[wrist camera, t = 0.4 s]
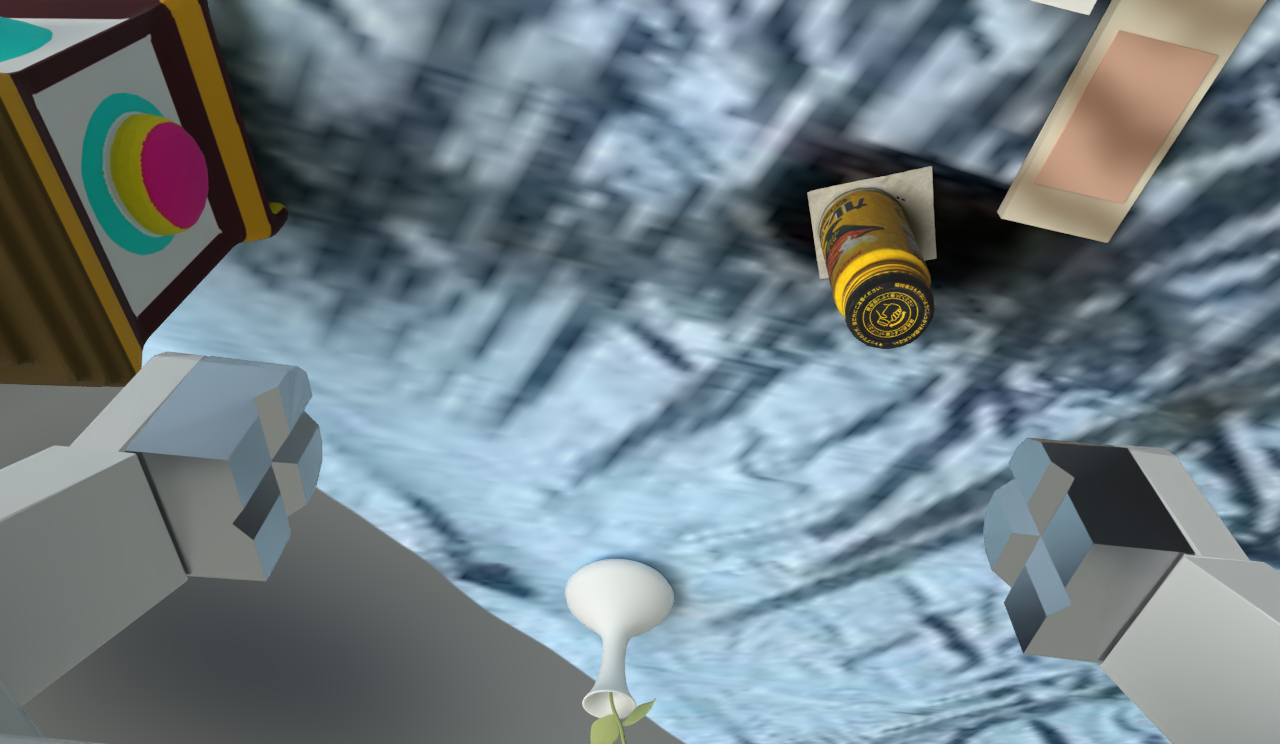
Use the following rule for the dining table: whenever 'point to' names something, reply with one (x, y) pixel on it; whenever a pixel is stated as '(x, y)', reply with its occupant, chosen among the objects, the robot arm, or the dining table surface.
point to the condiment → (878, 254)
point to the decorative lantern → (113, 180)
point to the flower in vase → (616, 633)
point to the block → (1071, 5)
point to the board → (1123, 111)
